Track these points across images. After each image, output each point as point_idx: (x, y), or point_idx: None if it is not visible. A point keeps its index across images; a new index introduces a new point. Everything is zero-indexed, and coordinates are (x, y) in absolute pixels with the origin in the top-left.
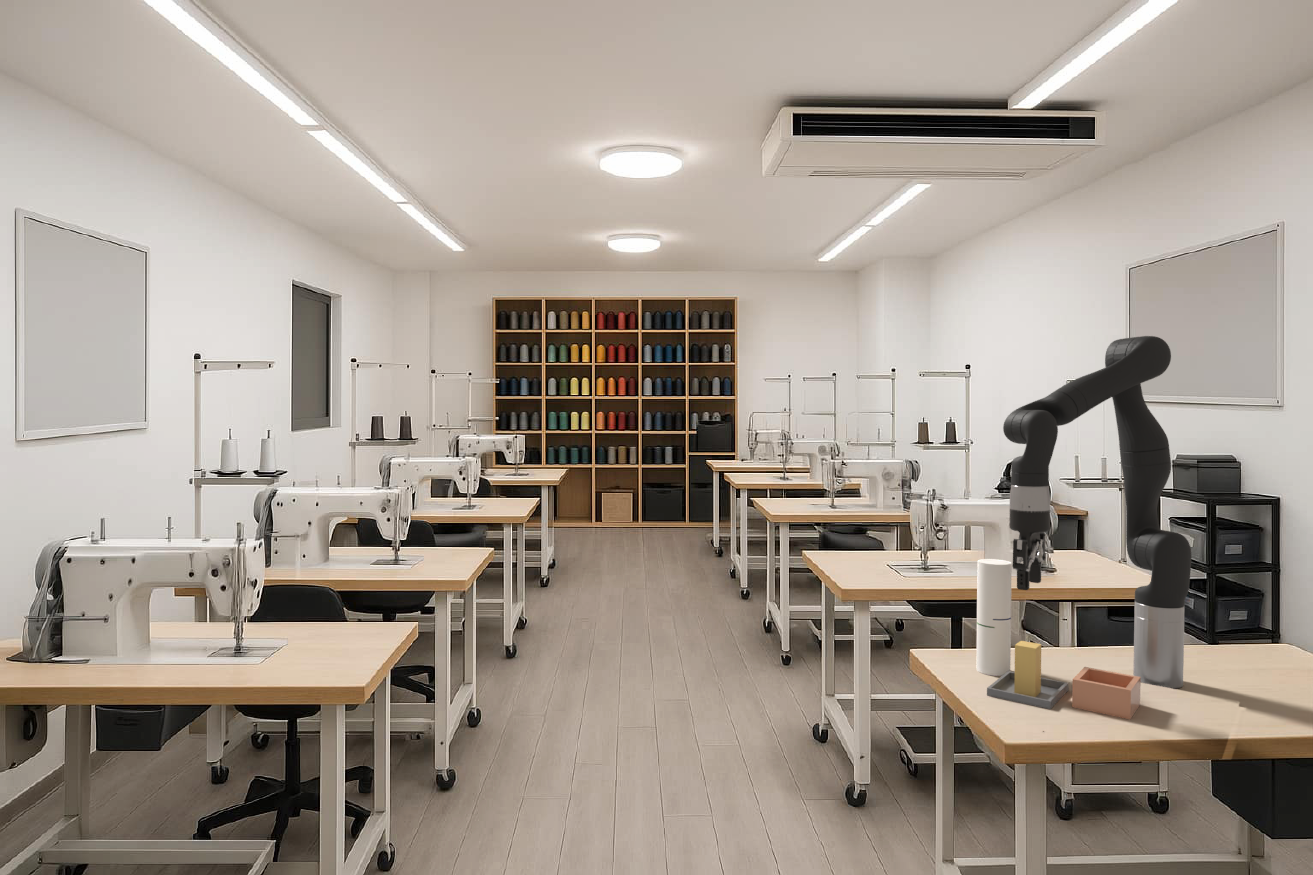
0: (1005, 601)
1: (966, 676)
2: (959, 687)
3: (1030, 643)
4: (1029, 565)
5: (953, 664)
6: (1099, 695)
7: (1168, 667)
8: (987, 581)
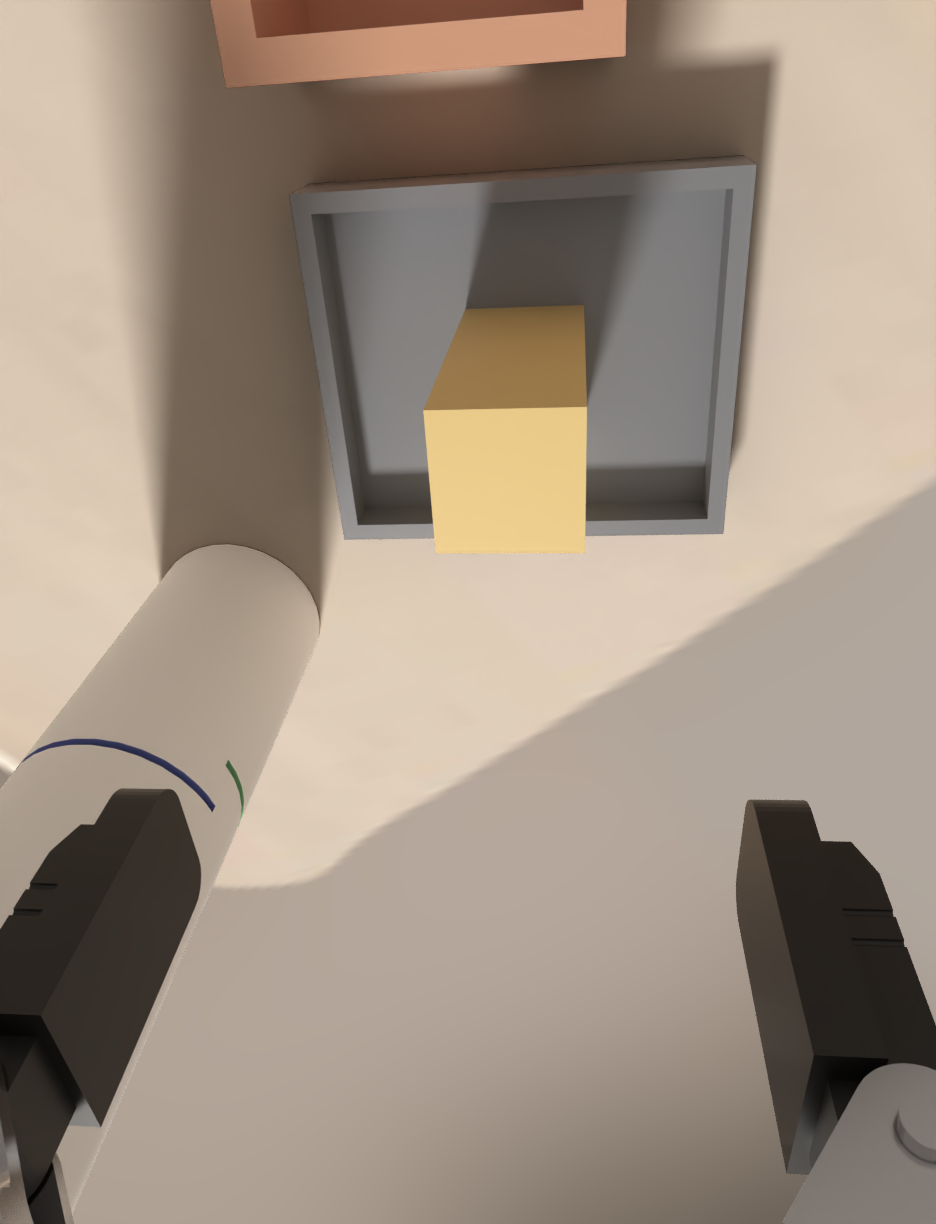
0: None
1: (420, 677)
2: (604, 652)
3: (462, 479)
4: (900, 1203)
5: (296, 764)
6: None
7: None
8: None
